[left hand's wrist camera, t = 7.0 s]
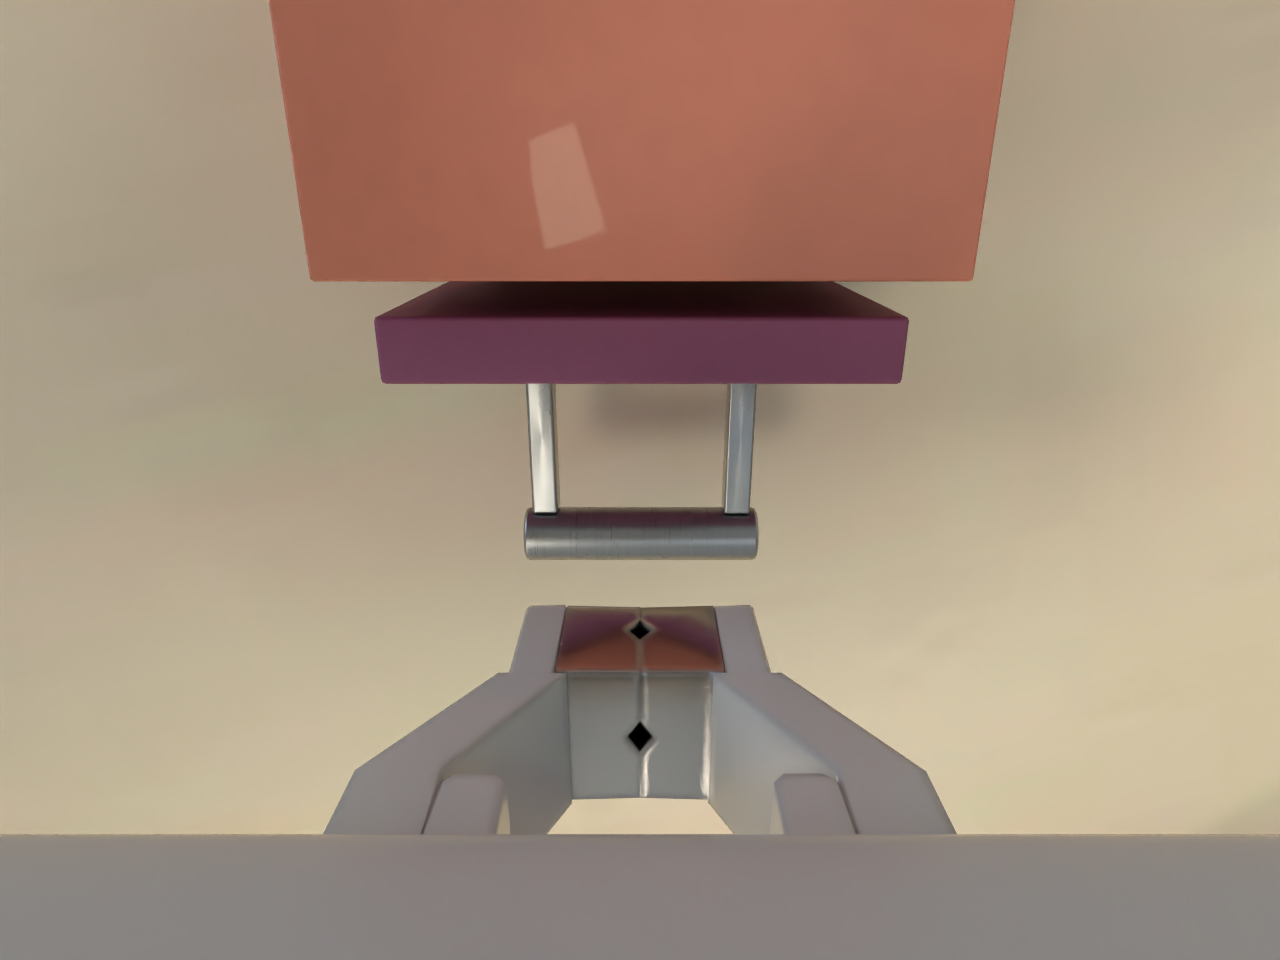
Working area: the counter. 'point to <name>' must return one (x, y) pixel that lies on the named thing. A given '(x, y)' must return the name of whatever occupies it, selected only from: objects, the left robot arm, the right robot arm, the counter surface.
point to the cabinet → (641, 137)
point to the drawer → (641, 379)
